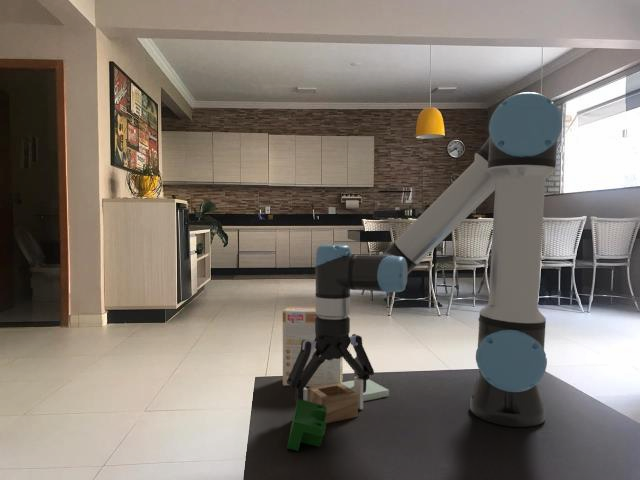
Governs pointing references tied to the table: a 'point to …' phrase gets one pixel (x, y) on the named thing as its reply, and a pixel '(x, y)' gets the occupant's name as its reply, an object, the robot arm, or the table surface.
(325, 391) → the collar
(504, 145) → the robot arm
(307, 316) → the coffeecake box
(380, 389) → the sage green base plate
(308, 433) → the clamp
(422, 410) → the table surface
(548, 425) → the table surface
